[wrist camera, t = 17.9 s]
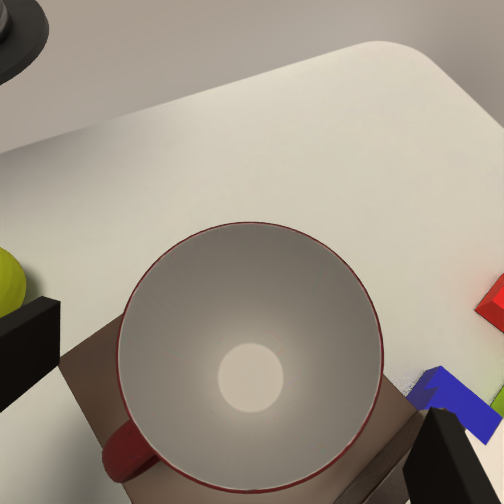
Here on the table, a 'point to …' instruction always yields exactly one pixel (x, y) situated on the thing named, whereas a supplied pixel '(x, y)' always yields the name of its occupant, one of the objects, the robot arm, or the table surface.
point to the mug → (245, 361)
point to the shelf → (288, 500)
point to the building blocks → (472, 401)
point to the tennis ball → (11, 283)
